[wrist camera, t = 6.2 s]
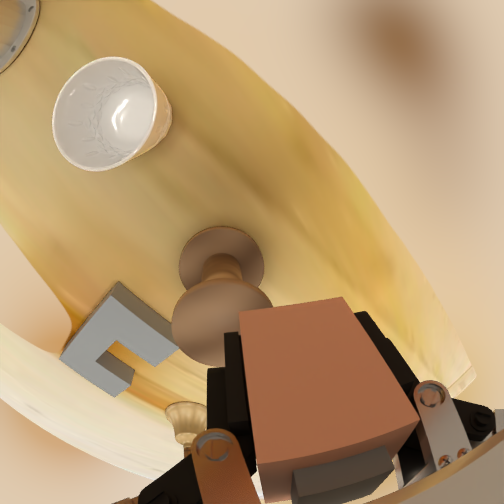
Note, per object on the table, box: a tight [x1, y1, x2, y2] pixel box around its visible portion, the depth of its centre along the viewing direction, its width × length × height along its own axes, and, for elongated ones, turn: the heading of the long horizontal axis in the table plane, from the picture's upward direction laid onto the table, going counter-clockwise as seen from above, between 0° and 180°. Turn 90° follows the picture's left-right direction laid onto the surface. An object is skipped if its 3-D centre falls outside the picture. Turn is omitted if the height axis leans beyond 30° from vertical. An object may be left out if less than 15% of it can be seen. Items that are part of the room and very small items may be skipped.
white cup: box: [52, 57, 172, 171], centre depth 19 cm, size 8×8×10 cm
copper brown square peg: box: [238, 297, 420, 504], centre depth 8 cm, size 4×4×7 cm
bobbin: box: [171, 226, 273, 367], centre depth 26 cm, size 9×9×11 cm
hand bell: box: [165, 402, 207, 458], centre depth 34 cm, size 8×8×16 cm
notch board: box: [59, 282, 179, 397], centre depth 32 cm, size 16×10×3 cm, turn 132°
